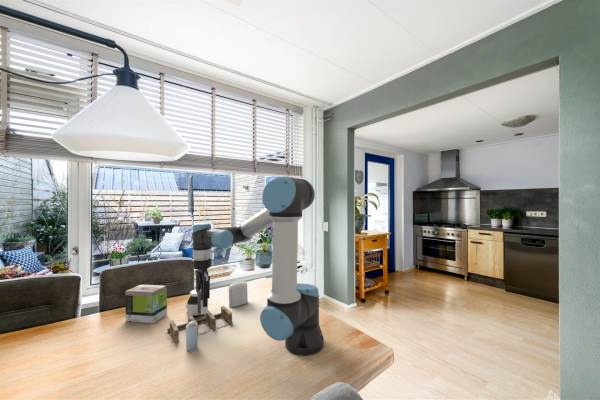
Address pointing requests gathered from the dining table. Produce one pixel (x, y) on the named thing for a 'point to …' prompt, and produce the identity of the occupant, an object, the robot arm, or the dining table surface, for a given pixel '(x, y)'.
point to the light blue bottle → (191, 336)
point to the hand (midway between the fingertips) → (202, 311)
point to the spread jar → (193, 305)
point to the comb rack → (208, 319)
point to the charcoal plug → (199, 302)
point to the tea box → (146, 303)
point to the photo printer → (238, 294)
